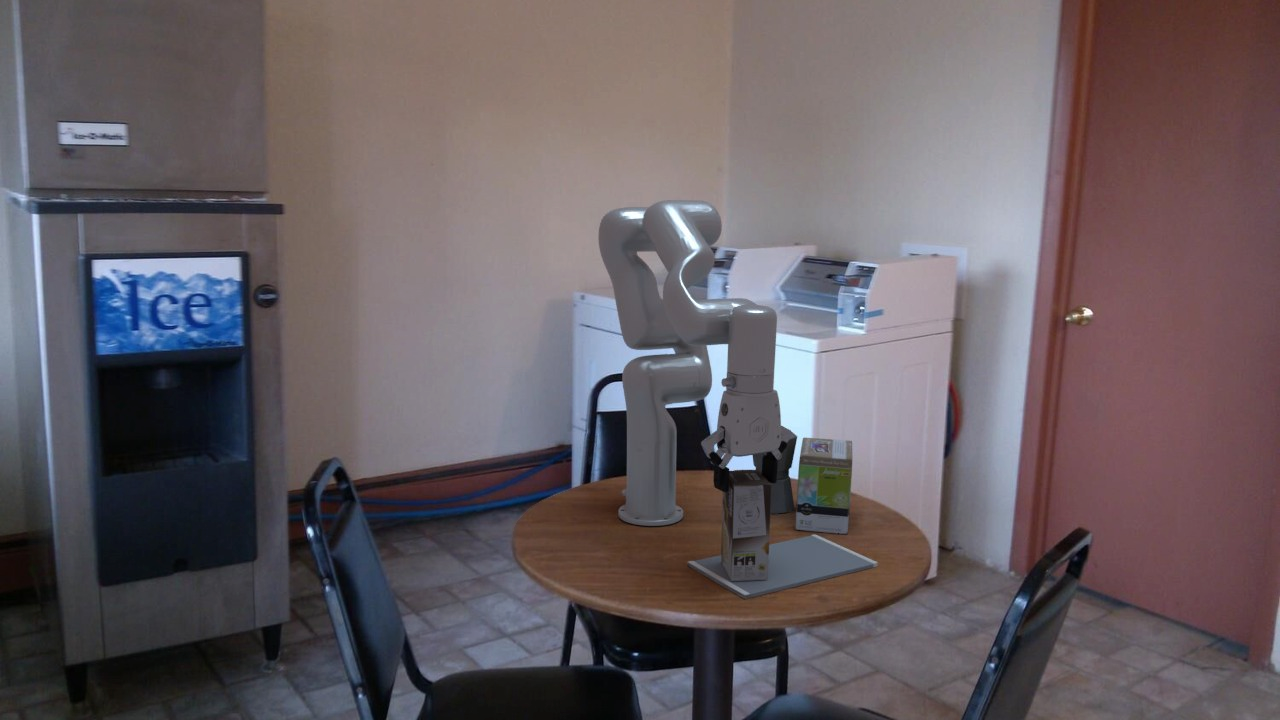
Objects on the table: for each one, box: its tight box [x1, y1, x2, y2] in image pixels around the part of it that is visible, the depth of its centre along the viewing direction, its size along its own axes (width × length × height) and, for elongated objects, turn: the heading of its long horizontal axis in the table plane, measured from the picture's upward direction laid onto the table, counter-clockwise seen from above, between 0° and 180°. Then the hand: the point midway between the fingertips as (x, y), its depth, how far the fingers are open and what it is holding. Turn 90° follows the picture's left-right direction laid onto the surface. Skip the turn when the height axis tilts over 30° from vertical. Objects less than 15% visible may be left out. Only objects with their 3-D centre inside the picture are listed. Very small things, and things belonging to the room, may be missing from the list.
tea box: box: [795, 437, 853, 535], centre depth 190 cm, size 15×10×15 cm, turn 168°
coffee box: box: [720, 469, 771, 581], centre depth 162 cm, size 9×6×16 cm
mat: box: [687, 534, 879, 600], centre depth 167 cm, size 16×28×1 cm, turn 121°
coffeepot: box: [752, 431, 798, 515], centre depth 198 cm, size 15×9×18 cm, turn 165°
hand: (745, 485), depth 161 cm, fingers open, 9 cm apart
